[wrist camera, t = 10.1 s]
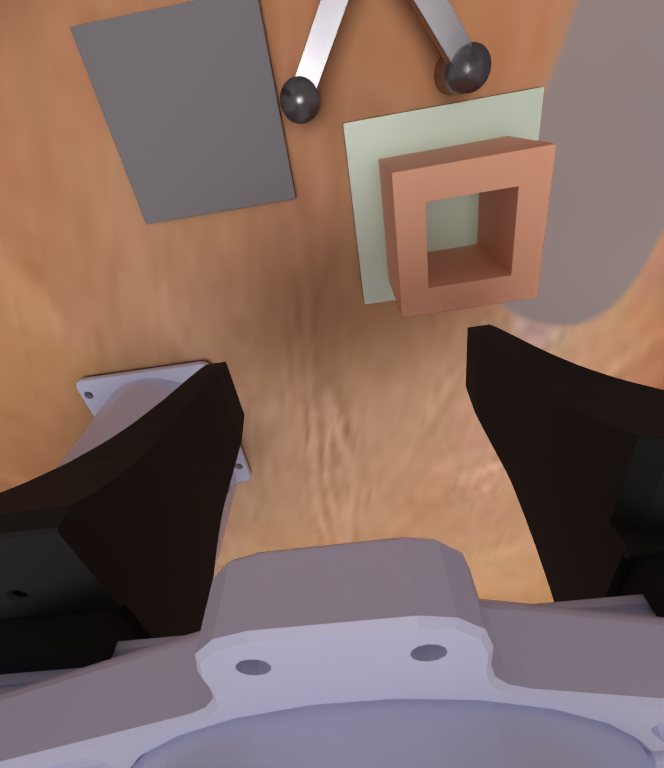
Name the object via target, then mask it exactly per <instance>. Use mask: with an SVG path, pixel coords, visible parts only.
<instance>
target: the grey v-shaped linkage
mask: <svg viewBox="0 0 664 768" xmlns="http://www.w3.org/2000/svg"><path fill="white" fill-rule="evenodd" d="M408 1H409V3H410V4H411V6H412V8H413V9H414V11H415V13H416V14H417V16H418V18H419V19H420V21H421V23H422V24H423V26H424V28H425V29H426V31H427V33H428V34H429V36H430V38H431V39H432V41H433V43H434V44H435V46H436V48H437V49H438V51H439V53H440V54H441V56H442V57H441V59H440V60H439V62H438V63H437V66H436V69H435V74H434V78H435V83H436V86H437V88H438V89H439V90H440V91H441V92H442V93H444V94H447V95H453V94H464V93H471V92H474V91H476V90H478V89H479V88H480V87H481V86H482V85H483V84H484V83H485V81H486V80H487V78H488V76H489V73H490V69H491V57H490V54H489V51H488V50H487V48H486V47H485V46H484V45H482V44H480V43H477V42H471V40H470V39H469V37H468V35H467V33H466V32H465V30H464V28H463V26H462V24H461V23H460V21H459V19H458V17H457V16H456V14H455V12H454V10H453V8H452V7H451V5H450V3H449V1H448V0H408ZM348 2H349V0H321V1H320V4H319V7H318V10H317V13H316V16H315V19H314V22H313V25H312V28H311V31H310V34H309V37H308V40H307V43H306V46H305V49H304V52H303V55H302V58H301V61H300V64H299V67H298V70H297V73H296V76H295V77H292V78H290V79H289V80H288V81H287V82H286V83H285V84H284V86H283V88H282V90H281V94H280V103H281V108H282V110H283V112H284V114H285V115H286V117H287V118H288V119H289V120H291V121H292V122H295V123H298V124H303V123H307V122H309V121H310V120H312V119H313V118H314V117H315V116H316V114H317V113H318V111H319V108H320V95H319V92H318V90H317V87H318V85H319V82H320V79H321V76H322V74H323V71H324V68H325V65H326V63H327V60H328V57H329V54H330V52H331V49H332V46H333V43H334V41H335V38H336V35H337V32H338V30H339V27H340V24H341V21H342V18H343V16H344V13H345V10H346V7H347V5H348Z"/></svg>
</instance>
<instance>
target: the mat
mask: <svg viewBox="0 0 664 768" xmlns="http://www.w3.org/2000/svg"><path fill="white" fill-rule="evenodd" d="M70 29H71V32H72V34H73V37H74V39H75V42H76V44H77V47H78V50H79V52H80V55H81V57H82V60H83V62H84V65H85V68H86V70H87V73H88V75H89V78H90V81H91V83H92V86H93V88H94V91H95V93H96V96H97V99H98V101H99V104H100V106H101V109H102V111H103V114H104V117H105V119H106V122H107V124H108V127H109V130H110V132H111V135H112V137H113V140H114V142H115V145H116V148H117V150H118V153H119V155H120V158H121V160H122V163H123V166H124V168H125V171H126V173H127V176H128V179H129V181H130V184H131V186H132V189H133V191H134V194H135V197H136V199H137V202H138V204H139V207H140V209H141V212H142V215H143V217H144V220H145V222H146V224H151V223H157V222H163V221H169V220H175V219H180V218H186V217H192V216H198V215H204V214H210V213H216V212H222V211H228V210H234V209H239V208H245V207H251V206H257V205H263V204H269V203H275V202H281V201H287V200H292V199H296V194H295V188H294V183H293V178H292V172H291V167H290V162H289V156H288V151H287V146H286V140H285V135H284V130H283V124H282V119H281V114H280V108H279V103H278V98H277V92H276V87H275V82H274V76H273V71H272V66H271V60H270V55H269V49H268V44H267V39H266V33H265V28H264V23H263V17H262V12H261V7H260V1H259V0H195V1H191V2H186V3H181V4H177V5H172V6H167V7H162V8H158V9H153V10H148V11H143V12H139V13H134V14H129V15H124V16H120V17H115V18H110V19H105V20H101V21H96V22H91V23H86V24H82V25H77V26H72V27H70Z"/></svg>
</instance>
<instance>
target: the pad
mask: <svg viewBox="0 0 664 768" xmlns="http://www.w3.org/2000/svg"><path fill="white" fill-rule="evenodd" d="M543 94H544V87H539V88H534V89H528V90H523V91H517V92H512V93H506V94H501V95H495V96H490V97H484V98H479V99H473V100H468V101H462V102H457V103H451V104H446V105H440V106H435V107H429V108H424V109H418V110H413V111H407V112H402V113H396V114H391V115H386V116H380V117H375V118H369V119H364V120H358V121H353V122H347V123H343V127H344V136H345V144H346V153H347V161H348V170H349V178H350V187H351V195H352V204H353V212H354V221H355V229H356V237H357V246H358V254H359V263H360V271H361V280H362V288H363V297H364V304H372V303H379V302H385V301H392V300H396V299H395V296H394V294H393V291H392V288H391V285H390V282H389V277H388V266H387V254H386V242H385V231H384V219H383V207H382V196H381V184H380V172H379V161H378V159H382V158H388V157H393V156H399V155H404V154H410V153H415V152H421V151H427V150H432V149H438V148H443V147H449V146H454V145H460V144H465V143H471V142H476V141H482V140H487V139H493V138H499V137H504V136H511V137H518V138H524V139H530V140H536V141H538V140H539V131H540V122H541V112H542V103H543ZM478 203H479V193H475V194H469V195H463V196H458V197H452V198H446V199H440V200H434V201H428V202H426V230H427V252H431V251H437V250H443V249H449V248H455V247H462V246H468V245H474V244H477V231H478Z"/></svg>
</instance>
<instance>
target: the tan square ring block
mask: <svg viewBox="0 0 664 768" xmlns="http://www.w3.org/2000/svg"><path fill="white" fill-rule="evenodd" d="M555 150H556V144H554V143H548V142H541V141H536V140H530V139H524V138H518V137H511V136H504V137H499V138H493V139H487V140H482V141H476V142H471V143H465V144H460V145H454V146H449V147H443V148H438V149H432V150H427V151H421V152H415V153H410V154H404V155H399V156H393V157H388V158H382V159H378V161H379V172H380V184H381V196H382V207H383V219H384V231H385V242H386V254H387V266H388V277H389V282H390V285H391V288H392V291H393V294H394V296H395V299H396V302H397V305H398V308H399V310H400V313H401V316H402V318H404V317H411V316H417V315H424V314H431V313H437V312H444V311H451V310H457V309H464V308H471V307H477V306H484V305H491V304H497V303H504V302H511V301H517V300H524V299H530V298H537V294H538V286H539V279H540V270H541V263H542V255H543V245H544V239H545V231H546V222H547V214H548V206H549V198H550V189H551V182H552V174H553V165H554V158H555ZM475 193H479V203H478V231H477V244H474V245H468V246H462V247H455V248H449V249H443V250H437V251H431V252H427V230H426V202H428V201H434V200H440V199H446V198H452V197H458V196H463V195H469V194H475Z"/></svg>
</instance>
